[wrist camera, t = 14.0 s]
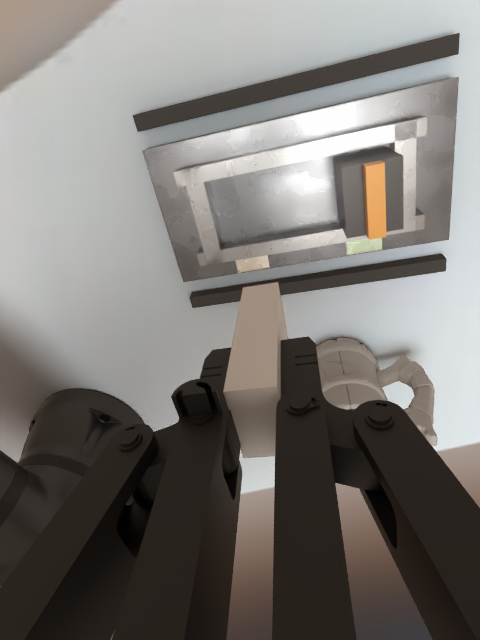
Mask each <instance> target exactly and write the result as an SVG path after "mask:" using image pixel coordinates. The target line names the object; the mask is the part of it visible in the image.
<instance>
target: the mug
mask: <svg viewBox="0 0 480 640" xmlns="http://www.w3.org/2000/svg"><path fill="white" fill-rule="evenodd" d="M316 351H317V358H318V365H319V372H320V379H321V386H322V392H323V395H324V397H325V399H326V400H327V401H328V402H329V403H331V404H332V405H334V406H336V407H338V408H342V409H347V410H353V411H354V410H355V409H356V408H357V407H358V406H359V405H360V404H362V403H365V402H367V401H371V400H384V401H387V397H386V395H385V393H384V391H383V389H382V387H384V386H387V385H389V384H392V383H394V382H396V381H399V380H400V382H401V383H404V384H407V385H408V386H410V387H411V388H412V389H413V392H414V395H415V396H414V398H413V399H412V401H411V403H410V405H409V408H406V409H403V410H404V411H405V412H406V413H407V415H408V416H409V417H410V418H411V420H412V421H413V422H414V424H415V425H416V426H417V427H418V429H419V430H420V431H421V433H422V434H423V435H424V437H425V438H426V439H427V440H428V442H429V443H430V444H431V445H433V446H436V445H437V435H436V433H435V431H434V429H433V425H432V424H433V409H434V387H433V384H432V382H431V381H430V379H429V378H428V376H427V375H426V374H425V371H424V369H423V368H422V367H421V366H420V365H419V364H418V363H416V362H414V361H410V360H409V359H408V358H406V357H401V358H399V359H398V360H397V361H396V362H395V363H394V364H393V365H392V366H390V367H388V368H386V369H384V370H382V371H380V369H379V367H378V363H377V361H376V358H375V357H374V355H373V354H372V353H371V352H370V351H369V350H368V348H366V346H365V345H364V344H359V341H357V340H354V339H351V338H337V341H336V340H327V341H325V342H323V343H321V344H319V345H318V346H317V347H316Z"/></svg>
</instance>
